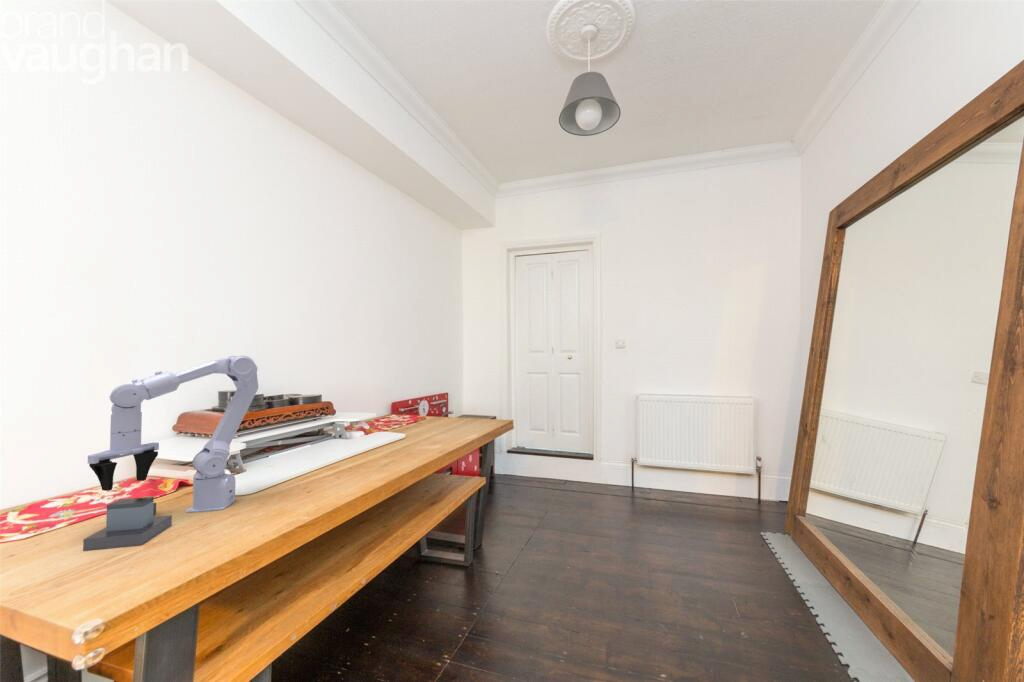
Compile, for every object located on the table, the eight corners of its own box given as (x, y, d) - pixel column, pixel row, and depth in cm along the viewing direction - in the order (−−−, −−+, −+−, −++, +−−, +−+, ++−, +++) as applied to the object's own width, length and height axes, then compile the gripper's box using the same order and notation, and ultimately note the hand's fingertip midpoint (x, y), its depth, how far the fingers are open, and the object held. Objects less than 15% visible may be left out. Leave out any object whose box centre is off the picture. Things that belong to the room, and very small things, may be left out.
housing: (119, 524, 96) (119, 499, 96) (153, 521, 97) (153, 496, 97) (106, 531, 92) (106, 505, 92) (141, 528, 93) (142, 502, 94)
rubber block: (156, 513, 109) (156, 502, 109) (152, 518, 106) (152, 507, 106) (136, 516, 107) (136, 505, 107) (132, 521, 104) (132, 510, 104)
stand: (171, 525, 101) (171, 515, 101) (141, 545, 90) (141, 533, 90) (120, 529, 99) (120, 519, 99) (83, 550, 88) (83, 539, 88)
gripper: (104, 437, 94) (103, 495, 93) (168, 426, 108) (167, 477, 107) (81, 436, 95) (79, 494, 94) (147, 426, 109) (146, 476, 109)
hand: (124, 485), depth 101 cm, fingers open, 7 cm apart
